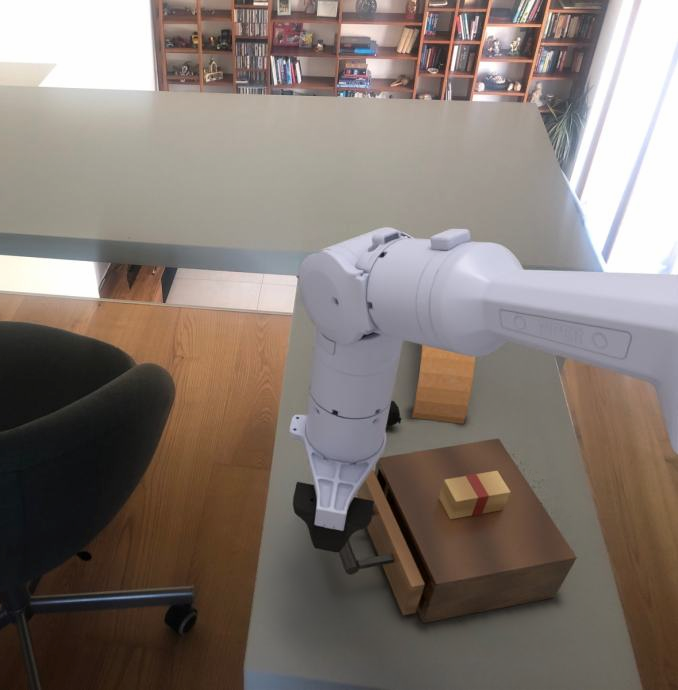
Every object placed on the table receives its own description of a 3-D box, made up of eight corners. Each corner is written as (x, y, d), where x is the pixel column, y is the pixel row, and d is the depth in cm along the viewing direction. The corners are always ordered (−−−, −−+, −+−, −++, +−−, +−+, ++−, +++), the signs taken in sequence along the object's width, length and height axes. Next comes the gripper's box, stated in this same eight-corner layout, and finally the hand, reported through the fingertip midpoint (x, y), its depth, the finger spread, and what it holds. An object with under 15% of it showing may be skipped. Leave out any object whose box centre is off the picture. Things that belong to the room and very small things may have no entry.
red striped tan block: (490, 488, 63) (497, 469, 61) (503, 511, 61) (511, 492, 59) (438, 497, 62) (443, 478, 60) (450, 520, 60) (456, 501, 58)
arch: (410, 417, 78) (425, 350, 72) (408, 310, 93) (421, 247, 86) (463, 424, 77) (484, 357, 71) (453, 314, 92) (469, 251, 86)
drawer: (353, 625, 59) (360, 596, 56) (313, 508, 68) (316, 478, 65) (525, 592, 61) (540, 562, 58) (463, 483, 70) (473, 452, 67)
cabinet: (422, 623, 60) (436, 584, 56) (369, 499, 70) (377, 457, 66) (554, 597, 61) (577, 557, 57) (483, 479, 71) (498, 437, 67)
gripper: (309, 318, 54) (300, 434, 63) (273, 457, 44) (268, 573, 53) (401, 331, 53) (378, 448, 62) (387, 478, 42) (361, 594, 51)
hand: (333, 507), depth 57 cm, fingers open, 7 cm apart
